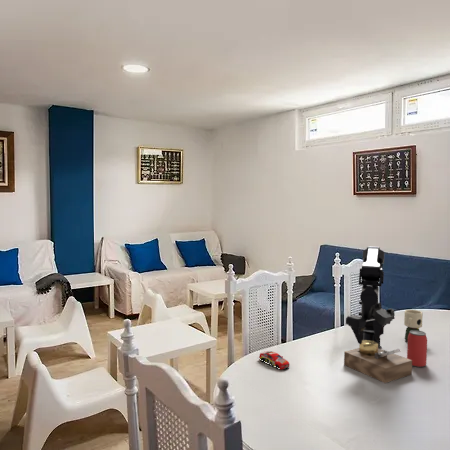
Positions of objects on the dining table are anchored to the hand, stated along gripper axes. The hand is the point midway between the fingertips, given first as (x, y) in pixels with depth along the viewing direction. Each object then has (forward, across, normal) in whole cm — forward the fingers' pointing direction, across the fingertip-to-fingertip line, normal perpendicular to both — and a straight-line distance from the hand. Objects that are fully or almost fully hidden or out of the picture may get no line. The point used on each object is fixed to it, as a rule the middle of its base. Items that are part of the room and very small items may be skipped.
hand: (368, 341), depth 156 cm
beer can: (+9, +17, -8) cm, 21 cm away
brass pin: (+9, 0, 0) cm, 9 cm away
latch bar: (+2, 0, -9) cm, 9 cm away
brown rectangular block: (+9, 0, -4) cm, 10 cm away
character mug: (+9, +39, +9) cm, 41 cm away
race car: (+10, -28, +19) cm, 35 cm away
